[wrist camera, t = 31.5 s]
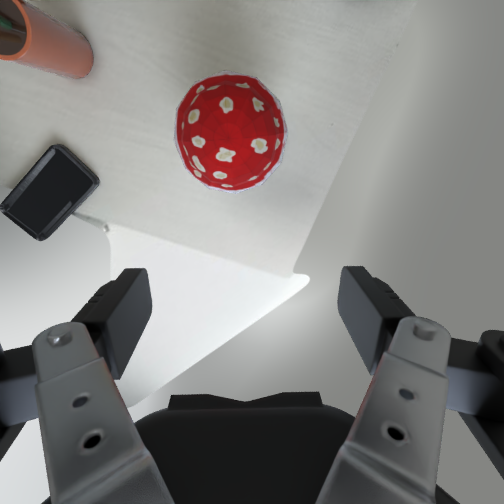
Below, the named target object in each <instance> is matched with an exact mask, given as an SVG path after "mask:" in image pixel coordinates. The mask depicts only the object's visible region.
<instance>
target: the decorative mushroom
mask: <svg viewBox="0 0 504 504" xmlns="http://www.w3.org/2000/svg"><path fill="white" fill-rule="evenodd" d="M287 135H288V130H287V127H286V123H285V119H284V115H283V112H282V108H281V104H280V101H279V100H278V99H277V98H276V97H275V96H274V95H273V94H272V93H271V92H270V91H269V90H268V89H267V87H266V86H265V85H264V84H263V83H262V82H261V81H260V80H259V79H258V78H257V77H253V76H249V75H245V74H240V73H236V72H232V71H228V70H223V71H221V72H218V73H216V74H213V75H211V76H208V77H206V78H203V79H201V80H198V81H196V82H195V83H194V84H193V85H192V87H191V88H190V90H189V91H188V93H187V94H186V95H185V97H184V98H183V100H182V101H181V103H180V104H179V105H178V107H177V108H176V119H175V131H174V143H175V145H176V148H177V150H178V152H179V155H180V157H181V159H182V162H183V164H184V167H185V169H186V170H187V171H188V172H189V173H191V174H192V175H193V176H194V177H195V178H197V179H198V180H199V181H200V182H201V183H203V184H204V185H205V186H206V187H207V188H209V189H214V190H220V191H225V192H230V193H235V194H236V193H239V192H242V191H245V190H248V189H251V188H253V187H256V186H259V185H262V184H263V183H264V182H265V181H266V179H267V178H268V177H269V176H270V175H271V174H272V173H273V171H274V170H275V169H276V168H277V167H278V166H279V165H280V163H281V161H282V157H283V153H284V148H285V144H286V139H287Z"/></svg>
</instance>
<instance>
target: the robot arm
mask: <svg viewBox="0 0 504 504" xmlns="http://www.w3.org/2000/svg"><path fill="white" fill-rule="evenodd" d="M338 310H339V314H340V316H341V318H342V320H343V322H344V324H345V326H346V328H347V330H348V332H349V334H350V335H351V338H352V340H353V342H354V343H355V346H356V348H357V350H358V352H359V353H360V355H361V357H362V359H363V361H364V363H365V365H366V367H367V369H368V371H369V373H370V375H374V376H373V378H372V381H371V383H370V385H369V388H368V390H367V392H366V395H365V397H364V399H363V402H362V404H361V406H360V408H359V411H358V413H357V416H356V418H355V417H353V416H352V415H350V414H348V413H346V412H344V411H342V410H340V409H337V408H335V407H331V406H328V405H324V404H322V400H321V397H320V393H319V392H283V393H279V394H275V395H271V396H267V397H263V398H260V399H256V400H252V401H246V402H244V401H238V400H234V399H229V398H224V397H219V396H214V395H209V394H194V395H193V394H192V395H171V398H170V402H169V405H168V408H165V409H162V410H159V411H156V412H154V413H152V414H149V415H147V416H145V417H143V418H142V419H140V420H138V421H137V422H135V423H134V422H133V420H132V418H131V416H130V414H129V412H128V410H127V407H126V405H125V403H124V401H123V399H122V397H121V395H120V392H119V390H118V388H117V386H116V384H115V382H114V380H120V378H121V376H122V374H123V372H124V370H125V368H126V366H127V364H128V362H129V360H130V358H131V356H132V354H133V352H134V350H135V347H136V345H137V343H138V341H139V339H140V337H141V335H142V333H143V331H144V329H145V327H146V325H147V323H148V321H149V318H150V316H151V313H152V298H151V292H150V286H149V280H148V274H147V271H146V269H145V268H126V269H124V270H123V272H122V273H121V274H120V275H119V276H118V278H117V279H116V280H113V281H110V282H108V283H107V284H105V285H103V286H102V287H100V288H99V289H98V291H97V292H96V293H95V294H94V296H93V297H91V299H90V300H89V301H88V303H86V304H85V305H84V307H83V308H82V309H81V310H80V311H79V312H78V314H77V315H76V316H75V317H74V318H73V319H72V320H71V322H66V323H61V324H58V325H55V326H52V327H50V328H48V329H46V330H44V331H43V332H41V333H40V334H39V335H38V336H37V337H36V338H35V339H34V340H33V342H32V345H29V346H25V347H20V348H15V349H11V350H6V351H3V349H2V347H1V344H0V461H1V460H2V458H3V457H4V455H5V454H6V452H7V451H8V449H9V448H10V446H11V444H12V443H13V441H14V440H15V439H16V437H17V436H18V434H19V433H20V431H21V430H22V428H23V427H24V425H25V423H26V422H27V421H29V420H33V419H36V418H39V423H40V430H41V436H42V443H43V450H44V457H45V463H46V470H47V477H48V483H49V490H50V496H49V497H48V498H47V499H46V500H45V501H44V502H43V503H42V504H460V503H459V502H457V501H456V500H455V499H454V498H453V497H451V496H450V495H449V494H448V493H447V492H445V491H444V490H443V489H442V488H441V487H439V486H438V485H437V484H436V479H437V471H438V463H439V456H440V448H441V440H442V432H443V425H444V417H445V409H451V410H455V411H458V413H459V414H460V416H461V417H462V419H463V420H464V422H465V423H466V425H467V426H468V428H469V429H470V431H471V432H472V434H473V435H474V437H475V438H476V439H477V441H478V442H479V444H480V445H481V447H482V448H483V450H484V451H485V453H486V454H487V456H488V457H489V458H490V460H491V461H492V463H493V465H494V466H495V468H496V469H497V470H498V472H499V473H500V475H501V476H502V478H503V479H504V331H499V330H488V331H485V332H483V333H482V335H481V337H480V340H479V342H478V343H477V342H471V341H466V340H461V339H455V338H451V335H450V333H449V332H448V331H447V329H446V328H444V327H443V326H442V325H440V324H438V323H437V322H435V321H432V320H430V319H427V318H423V317H417V316H416V315H415V314H414V313H413V312H412V311H411V310H410V309H409V308H408V307H407V305H406V304H405V303H404V302H403V301H402V300H401V299H399V297H398V295H397V294H396V293H394V291H393V290H392V289H391V288H390V287H389V285H388V284H386V283H385V282H383V281H381V280H380V279H378V278H373V277H372V276H371V275H370V274H369V272H367V270H366V269H365V268H364V267H363V266H344V267H343V269H342V272H341V278H340V286H339V293H338Z"/></svg>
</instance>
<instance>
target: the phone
mask: <svg viewBox="0 0 504 504" xmlns="http://www.w3.org/2000/svg"><path fill="white" fill-rule="evenodd" d="M98 185H99V179H98V177H97V176H96V175H95V174H94V173H93V172H92V171H91V170H89V169H88V168H87V167H86V166H85V165H84V164H83V163H82V162H81V161H80V160H79V159H78V158H77V157H76V156H75V155H74V154H73V153H71V152H70V151H69V150H68V149H67V148H66V147H65V146H63V145H60V144H57V145H52V146H50V147H49V148H48V150H47V151H46V152H45V153H44V154H43V155H42V157H41V158H40V159H39V160H38V161H37V162H36V164H35V165H34V166H33V167H32V168H31V169H30V171H29V172H28V173H27V174H26V175H25V176H24V177H23V179H22V180H21V181H20V182H19V183H18V184H17V186H16V187H15V188H14V189H13V190H12V191H11V193H10V194H9V195H8V196H7V197H6V198H5V200H4V201H3V202H2V203H1V204H0V210H1V212H2V213H3V214H4V215H5V216H7V217H8V218H9V219H10V220H12V221H13V222H14V223H15V224H17V225H18V226H19V227H20V228H22V229H23V230H24V231H26V232H27V233H28V234H29V235H31V236H32V237H33V238H35V239H36V240H38V241H43V240H45V239H47V238H48V237H49V236H50V235H51V234H52V233H53V232H54V231H55V230H56V229H57V228H58V227H59V226H60V225H61V224H62V223H63V222H64V221H65V220H66V218H68V217H69V216H70V215H71V214H72V213H73V212H74V211H75V209H76V208H77V207H78V206H79V205H80V204H81V203H82V202H83V201H84V200H85V199H86V198H87V197H88V196H89V195H90V194H91V193H92V192H93V191H94V190H95V189H96V188H97V187H98Z"/></svg>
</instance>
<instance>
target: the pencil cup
mask: <svg viewBox="0 0 504 504" xmlns="http://www.w3.org/2000/svg"><path fill="white" fill-rule="evenodd" d="M0 59H2V60H5V61H9V62H13V63H16V64H20V65H24V66H28V67H31V68H35V69H39V70H43V71H46V72H50V73H54V74H57V75H61V76H65V77H69V78H73V79H79V78H82V77H84V76H86V75H87V74H88V73H89V72H90V70H91V68H92V65H93V52H92V49H91V46H90V44H89V42H88V40H87V39H86V38H85V37H84V35H83V34H81V33H80V32H79V31H77V30H76V29H74V28H72V27H70V26H69V25H67V24H65V23H63V22H62V21H60V20H58V19H56V18H55V17H53V16H51V15H49V14H47V13H46V12H44V11H42V10H40V9H39V8H37V7H35V6H33V5H32V4H30V3H28V2H26V1H25V0H0Z"/></svg>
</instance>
